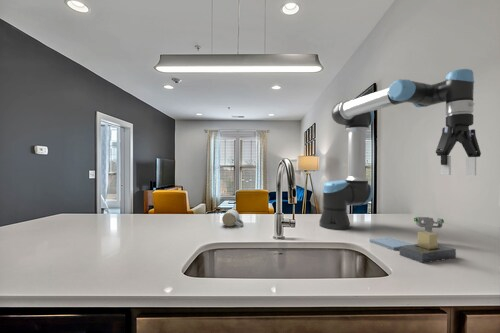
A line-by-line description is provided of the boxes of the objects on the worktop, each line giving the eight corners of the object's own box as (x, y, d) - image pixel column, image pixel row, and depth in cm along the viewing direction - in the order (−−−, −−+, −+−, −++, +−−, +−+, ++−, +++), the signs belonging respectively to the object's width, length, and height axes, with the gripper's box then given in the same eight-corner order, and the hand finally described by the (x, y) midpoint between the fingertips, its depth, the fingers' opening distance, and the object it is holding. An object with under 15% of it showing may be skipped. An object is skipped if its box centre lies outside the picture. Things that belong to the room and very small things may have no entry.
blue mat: (369, 241, 102) (369, 239, 102) (389, 239, 106) (389, 237, 106) (393, 250, 92) (393, 247, 92) (414, 247, 95) (414, 244, 95)
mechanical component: (444, 244, 100) (444, 219, 101) (416, 242, 103) (416, 217, 103) (440, 242, 103) (440, 217, 104) (413, 240, 105) (413, 216, 106)
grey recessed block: (399, 254, 87) (399, 246, 87) (431, 250, 92) (431, 242, 92) (422, 263, 79) (422, 253, 79) (455, 257, 85) (455, 248, 85)
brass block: (417, 255, 87) (417, 231, 87) (425, 253, 88) (425, 231, 88) (429, 259, 83) (429, 234, 83) (437, 257, 84) (437, 234, 84)
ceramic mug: (221, 226, 124) (221, 211, 124) (225, 223, 132) (225, 208, 132) (242, 228, 122) (242, 212, 122) (244, 224, 130) (245, 209, 130)
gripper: (446, 109, 81) (446, 174, 80) (494, 116, 89) (493, 175, 89) (423, 113, 88) (423, 174, 87) (469, 119, 96) (469, 175, 96)
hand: (458, 175), depth 88 cm, fingers open, 13 cm apart
